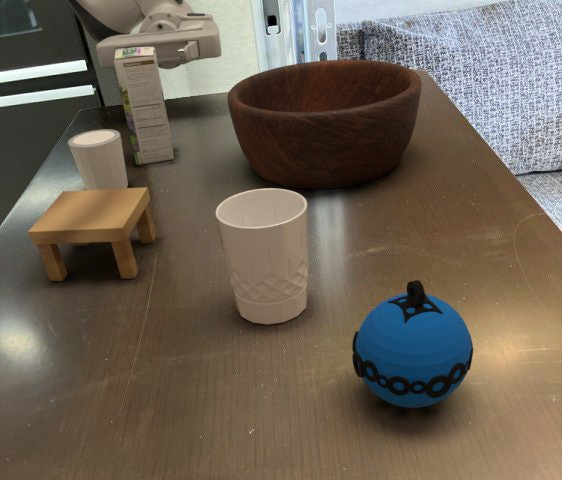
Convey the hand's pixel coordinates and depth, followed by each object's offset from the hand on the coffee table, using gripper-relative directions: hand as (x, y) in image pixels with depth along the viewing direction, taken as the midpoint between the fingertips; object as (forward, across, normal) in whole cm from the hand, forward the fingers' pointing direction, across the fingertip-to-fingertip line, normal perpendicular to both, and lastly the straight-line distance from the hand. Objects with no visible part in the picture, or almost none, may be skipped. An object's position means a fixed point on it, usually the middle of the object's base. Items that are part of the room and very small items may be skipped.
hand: (153, 58), depth 97 cm
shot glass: (+23, -5, +11) cm, 26 cm away
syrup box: (+12, 0, +11) cm, 16 cm away
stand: (+43, -1, +11) cm, 45 cm away
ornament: (+70, +29, +11) cm, 76 cm away
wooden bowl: (+20, +25, +11) cm, 34 cm away
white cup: (+56, +18, +11) cm, 60 cm away
